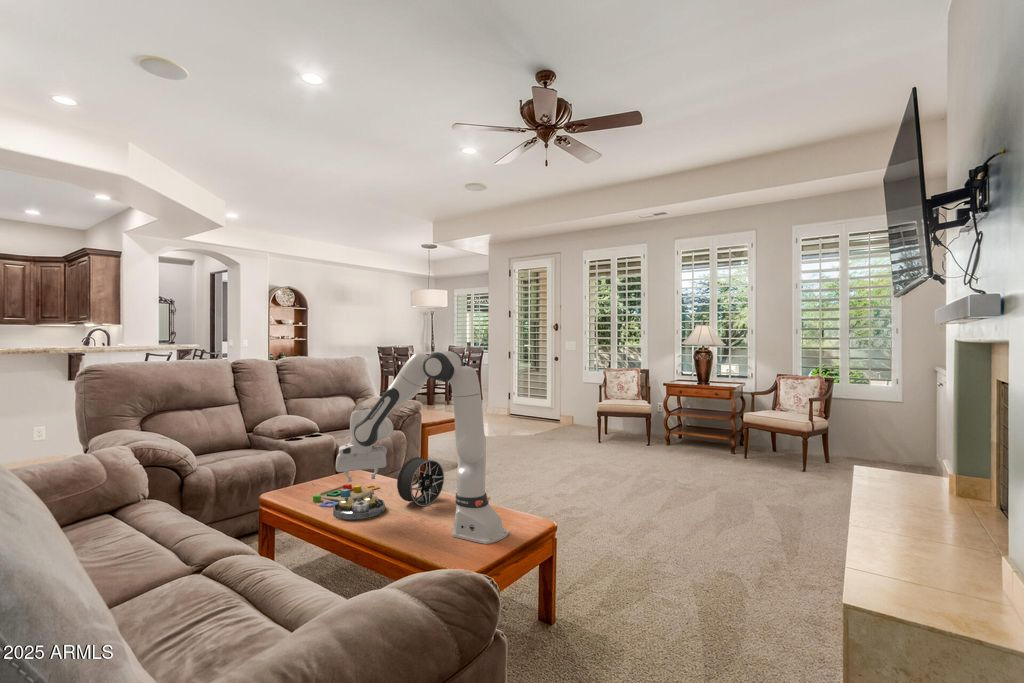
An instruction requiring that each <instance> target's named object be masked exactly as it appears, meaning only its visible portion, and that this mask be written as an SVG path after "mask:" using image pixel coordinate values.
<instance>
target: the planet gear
mask: <svg viewBox="0 0 1024 683" xmlns="http://www.w3.org/2000/svg"><path fill="white" fill-rule="evenodd" d="M361 502H362V505H359V502H355V503H354V504H352V514H356V513H365V512H369V503H368V502H364V501H361Z"/></svg>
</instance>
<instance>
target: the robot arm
mask: <svg viewBox="0 0 1024 683" xmlns="http://www.w3.org/2000/svg"><path fill="white" fill-rule="evenodd" d="M429 379H431V380H434V381H439V382H443V383H447V382H448V383H449V384H450V387H451V392H452V393H451V394H452V396H451V397H452V403H453V414H454V415H453V416H454V436H455V447H456V449H455V450H456V452H457V468H456V469H457V470H456V471H457V472H456V493H455V506H456V507H455V513H454V521H453V525H452V529H451V531H452V537H454V538H457V539H463V540H465V541H466V540H467V541H470V542H475V543H480V544H485V545H488V544H493V543H496V542H499V541H500V540H503V539H504V538H506V537H507V536H508V535H509V530H508V529H506V528H504V527H503V519H502V518H501V516H500V514H499V513H498V512H497V511H496V510H495V509H494V508H493V507H492V506H491V505H490V502H489V501H491V496H489V497H488V496H487V495H488V494H487V493H486V492H487V491H486V467H487V466H486V461H487V459H486V458H487V456H486V454H487V436H486V434H485V428H484V425H485V424H484V413H483V403H482V402H483V401H482V392H481V387H480V386H481V385H480V380H479V376H478V374H477V370H476V369H475V368H473V367H471V366H470V365H469V366H468V365H464V360H463V357H462V356H461V355H460V354H459V352H457V351H454V350H438V351H436V352H435V351H434V352H431V353H430V354H426V353H424V352H416V353H414V354H412V355H411V356H410V357H409V359H407V360H406V362H405V363H404V364H403V366H402V367H401V368H400V369H399V372H398V374H397V375H396V376H395V378H394V379H393V381H392V383H391V384H390V385H389V386H388V387H387V389H386V390H385V392H383V395H382V396H380V398H379V399H378V401H377V402H376V403H375V405H374V406H373V408H372V409H371V408H369V407H362V408H358V409H357V408H356V409H354V410H353V411H352V412H351V414H350V418H349V432H350V439H349V443H346V444H344V445H340V446H339V447H338V454H337V456H336V460H335V471H336V472H337V473H343V472H344V475H345V476H346V477H347V482H348V483H351V482H353V481H352V479H353V478H352V476H350V475H349V473H350V472H354V471H363V470H373V471H374V472H373V473H372V474H370V476H371V477H370V479H371V480H376V475H377V473H378V471H379V469H381V468H382V469H383V468H386V467H387V464H388V463H387V457H386V455H387V454H388V448H387V447H386V446H385V445H381V444H379V445H374V444H375V443H376V444H377V443H379V442H381V441H384V440H386V439H388V438H391V436H392V435H393V433H394V428H395V427H394V424H393V421H392V420H391V418H389V417H388V416H389V414H391V412H392V411H393V410H394V409H395V408H396V407H398V406H400V405H401V404H403V403H406V402H407V401H410V400H412V399H413V398H415V397H416V396H417V395H418V393H419V392H420V391H421V390H422V389H423V387H424V385H425V384H426V382H427V381H428V380H429Z"/></svg>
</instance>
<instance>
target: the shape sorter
mask: <svg viewBox="0 0 1024 683" xmlns="http://www.w3.org/2000/svg"><path fill="white" fill-rule="evenodd" d="M379 489H380V486H378V485H375V484H369V485H367V486H364V487H362V485H360V484H358V485H354V486H353V484H350V483H345V484H343V485H341V486H340V485H339V486H338V487H335V488H332V489H329V490H326V491H323V492H320V493H319V494H316V495H313V496H312V502H313V503H320V504H319V505H318V506H319V507H322V508H333V506H334V505H335V504H337V503H338V502H339V501H340V500H342V499H345V497H348V499H350V498H359V497H368V496H369V495H370V494H372V495H374V492H375V490H379ZM322 499H324V500H326V501H324V502H323V503H322Z"/></svg>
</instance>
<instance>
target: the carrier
mask: <svg viewBox="0 0 1024 683" xmlns="http://www.w3.org/2000/svg"><path fill="white" fill-rule="evenodd" d="M361 501H364V502H368V503H369V512H365V513H356V514H352V504H354V503H355V502H359V505H362V502H361ZM337 502H338V503H337V504H335V505H334V506H333V507H332V510H333V511H332V515H333V517H334V518H335V517H336V519H337V518H338V520H340V521H341V520H342V521H347V522H348V521H349V522H351V521H353V522H354V521H365V520H369V519H373V518H376V517H379V516H380V515H382V514H383V513H384V512H385V508H386V504H385V501H384V500H383V499H381V498H379V497H378V496H376V495H373V494H370V495H369V496H367V497H359V498H350V499H348V497H345V499H342V500H340V501H337Z"/></svg>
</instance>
